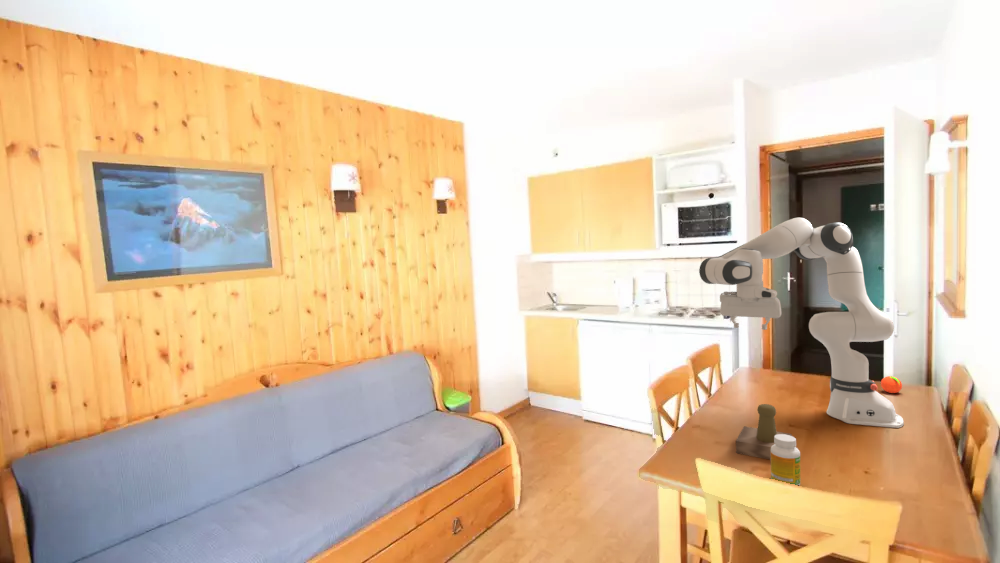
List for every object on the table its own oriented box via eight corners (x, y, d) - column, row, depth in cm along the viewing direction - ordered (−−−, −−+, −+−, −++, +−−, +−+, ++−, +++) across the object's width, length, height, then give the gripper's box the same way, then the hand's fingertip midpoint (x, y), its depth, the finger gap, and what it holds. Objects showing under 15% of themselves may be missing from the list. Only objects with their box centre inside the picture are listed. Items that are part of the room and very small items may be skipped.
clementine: (908, 395, 197) (908, 378, 196) (891, 396, 197) (891, 379, 196) (893, 389, 205) (893, 373, 204) (876, 390, 205) (876, 374, 204)
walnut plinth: (791, 445, 157) (791, 433, 157) (786, 462, 146) (786, 450, 146) (744, 437, 165) (744, 426, 165) (736, 452, 154) (735, 440, 154)
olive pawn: (780, 443, 150) (780, 408, 150) (759, 442, 152) (759, 408, 151) (774, 435, 156) (773, 402, 156) (753, 434, 158) (753, 401, 157)
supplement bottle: (800, 490, 130) (800, 444, 129) (770, 485, 134) (769, 440, 133) (800, 479, 136) (800, 435, 135) (771, 474, 140) (771, 431, 139)
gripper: (717, 292, 183) (718, 328, 184) (779, 293, 171) (780, 331, 172) (721, 290, 188) (722, 325, 189) (781, 291, 176) (782, 328, 177)
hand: (750, 328), depth 180 cm, fingers open, 8 cm apart
